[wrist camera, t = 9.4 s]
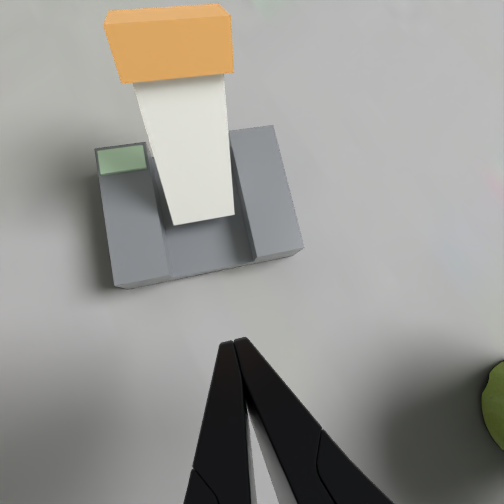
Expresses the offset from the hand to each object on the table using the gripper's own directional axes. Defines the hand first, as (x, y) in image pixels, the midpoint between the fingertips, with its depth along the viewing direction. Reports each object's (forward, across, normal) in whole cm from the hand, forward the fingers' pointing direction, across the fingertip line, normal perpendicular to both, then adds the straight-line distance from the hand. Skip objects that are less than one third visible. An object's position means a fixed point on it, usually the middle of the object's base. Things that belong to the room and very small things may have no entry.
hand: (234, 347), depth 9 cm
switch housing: (+14, 0, +3) cm, 15 cm away
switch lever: (+13, 0, +1) cm, 13 cm away
